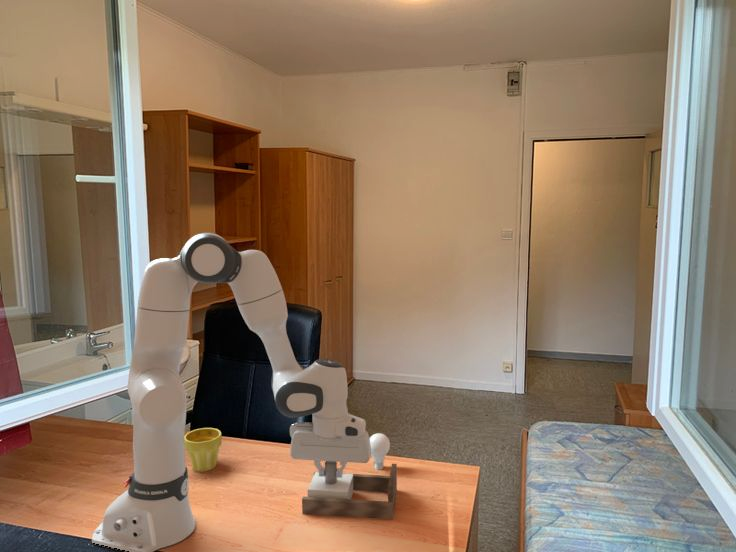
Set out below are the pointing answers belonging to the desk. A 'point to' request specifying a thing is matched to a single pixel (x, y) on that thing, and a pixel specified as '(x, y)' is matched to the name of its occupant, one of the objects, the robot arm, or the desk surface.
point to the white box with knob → (331, 484)
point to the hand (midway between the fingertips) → (330, 476)
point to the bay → (358, 506)
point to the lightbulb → (379, 449)
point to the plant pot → (203, 447)
